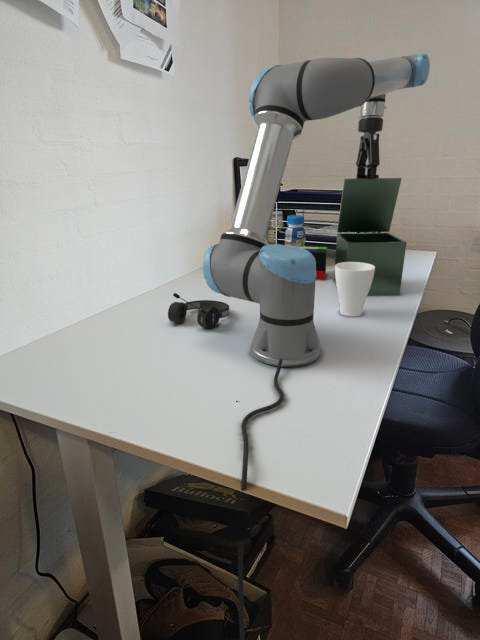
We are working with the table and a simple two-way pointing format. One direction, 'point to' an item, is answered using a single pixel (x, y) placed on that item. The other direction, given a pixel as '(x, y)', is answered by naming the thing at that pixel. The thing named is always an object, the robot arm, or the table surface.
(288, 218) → the beverage bottle
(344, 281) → the cup
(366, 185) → the bin lid
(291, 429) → the table surface
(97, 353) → the table surface
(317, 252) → the puzzle toy
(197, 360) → the table surface
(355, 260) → the bin
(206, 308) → the headset
